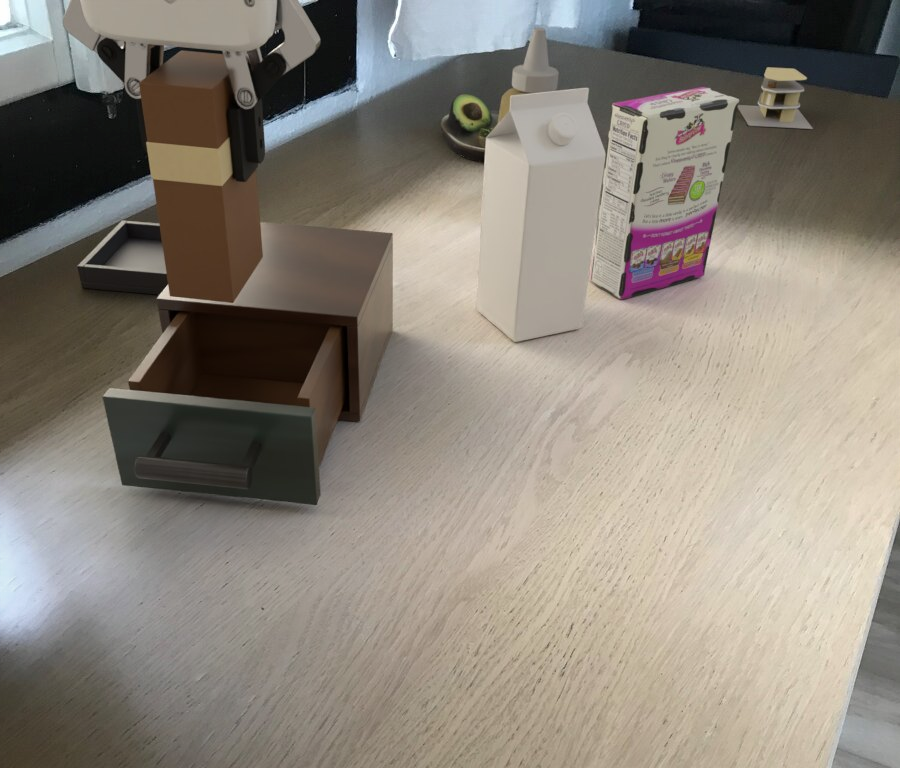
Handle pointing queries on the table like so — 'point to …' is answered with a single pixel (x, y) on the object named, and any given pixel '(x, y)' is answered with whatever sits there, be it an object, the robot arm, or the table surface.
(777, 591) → the table surface
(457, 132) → the salad plate
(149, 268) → the tray
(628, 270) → the candy bar box
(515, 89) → the squeeze bottle
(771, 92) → the stacked layers on plate
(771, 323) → the table surface
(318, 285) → the cabinet
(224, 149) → the block
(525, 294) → the milk carton
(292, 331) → the drawer
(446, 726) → the table surface
